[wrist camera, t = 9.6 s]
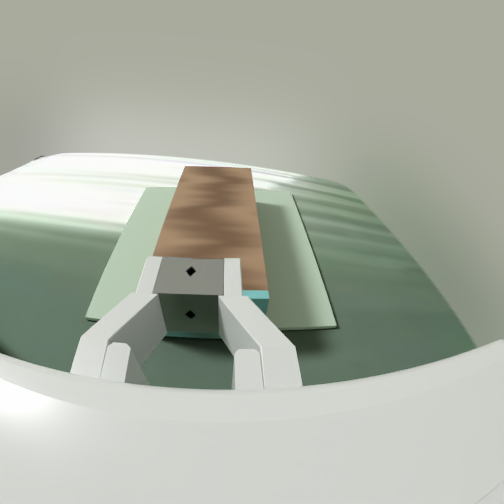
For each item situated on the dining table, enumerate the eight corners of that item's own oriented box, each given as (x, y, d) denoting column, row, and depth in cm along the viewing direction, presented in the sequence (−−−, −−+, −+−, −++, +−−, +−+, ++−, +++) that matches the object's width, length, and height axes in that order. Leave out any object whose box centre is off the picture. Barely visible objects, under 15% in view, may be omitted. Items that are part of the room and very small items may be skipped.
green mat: (86, 319, 17) (85, 317, 17) (146, 189, 33) (146, 187, 32) (335, 327, 19) (336, 325, 19) (290, 194, 34) (290, 192, 34)
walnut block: (141, 294, 14) (185, 166, 28) (153, 335, 17) (186, 198, 31) (269, 298, 15) (250, 168, 29) (260, 338, 17) (247, 200, 31)
